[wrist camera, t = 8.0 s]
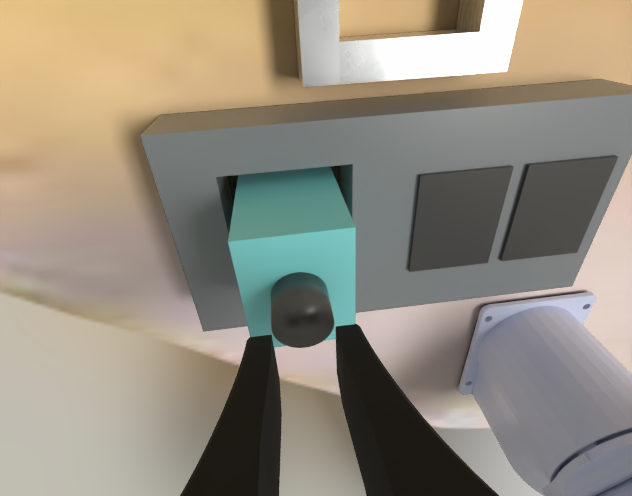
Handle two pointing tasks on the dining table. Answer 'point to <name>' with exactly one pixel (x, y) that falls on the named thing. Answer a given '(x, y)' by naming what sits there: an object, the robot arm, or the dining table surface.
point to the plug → (294, 255)
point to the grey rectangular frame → (403, 45)
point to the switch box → (410, 186)
